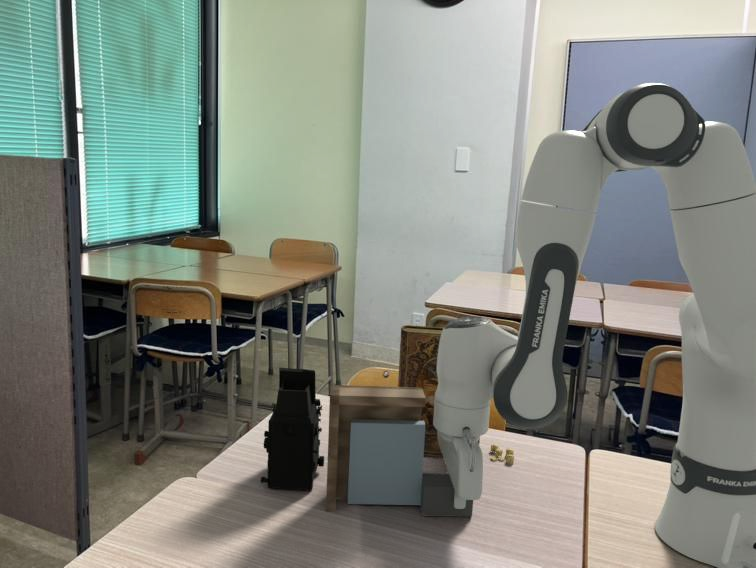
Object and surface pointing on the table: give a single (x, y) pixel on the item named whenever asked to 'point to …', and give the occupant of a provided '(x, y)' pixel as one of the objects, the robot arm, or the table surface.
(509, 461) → the dice set
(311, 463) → the camera
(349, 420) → the open wooden box
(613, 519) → the table surface
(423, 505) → the block
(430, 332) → the book
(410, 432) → the door panel
